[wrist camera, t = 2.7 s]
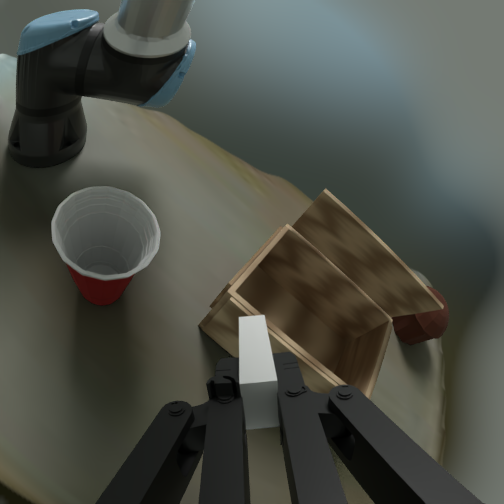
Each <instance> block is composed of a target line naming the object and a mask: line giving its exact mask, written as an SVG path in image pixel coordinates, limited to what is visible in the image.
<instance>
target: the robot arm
mask: <svg viewBox="0 0 504 504" xmlns="http://www.w3.org/2000/svg"><path fill="white" fill-rule="evenodd" d="M194 2H195V0H121V4H120V8H119V11H118V12H117V13H115V14H113V15H112V16H111V17H110V18H109V19H108V20H107V21H106V23H100V22H98V21H99V14H98V12H96V11H91V10H87V9H85V10H84V9H79V10H68V11H62V12H56V13H53V14H49V15H45V16H42V17H40V18H37V19H36V20H34V21H32V22H30V23H29V24H28V25H26V27H25V28H24V29H23V31H22V33H21V37H20V42H19V47H18V51H17V55H18V56H17V73H16V110H15V113H14V117H13V120H12V124H11V128H10V131H9V137H8V143H9V151H10V154H11V156H12V157H13V159H14V160H15V161H17V162H18V163H20V164H22V165H25V166H29V167H47V166H53V165H56V164H59V163H62V162H64V161H66V160H68V159H70V158H72V157H73V156H74V155H76V154H77V153H78V152H79V151H80V150H81V149H82V147H83V146H84V144H85V141H86V133H87V123H86V119H85V115H84V111H83V107H82V103H81V97H82V96H85V97H93V98H99V99H105V100H111V101H117V102H122V103H127V104H132V105H137V106H140V107H141V106H149V107H156V108H159V107H163V106H165V105H166V104H168V103H169V102H170V101H171V99H172V98H173V97H174V95H175V94H176V92H177V91H178V89H179V87H180V85H181V83H182V82H183V79H184V75H185V74H186V73H187V71H188V69H189V67H190V65H191V62H192V59H193V57H194V53H195V50H196V43H195V42H194V41H193V40H191V39H190V37H191V29H190V26H189V25H188V23H187V22H186V19H187V17H188V15H189V13H190V10H191V8H192V6H193V4H194ZM206 385H207V390H208V395H209V401H208V402H206V403H204V404H201V405H198V406H194V407H191V405H190V404H189V403H187V402H184V401H173V402H170V403H168V404H166V405H165V406H164V407H163V408H162V409H161V410H160V412H159V413H158V415H157V416H156V418H155V419H154V420H153V422H152V423H151V425H150V426H149V428H148V429H147V431H146V432H145V433H144V435H143V436H142V438H141V439H140V441H139V442H138V444H137V445H136V446H135V448H134V449H133V451H132V452H131V454H130V455H129V457H128V458H127V459H126V461H125V462H124V464H123V465H122V467H121V468H120V469H119V471H118V472H117V474H116V475H115V477H114V478H113V479H112V481H111V482H110V484H109V485H108V486H107V488H106V489H105V491H104V492H103V494H102V495H101V496H100V498H99V499H98V501H97V502H96V503H95V504H179V503H180V501H181V499H182V497H183V495H184V493H185V491H186V489H187V487H188V484H189V482H190V480H191V478H192V476H193V474H194V471H195V469H196V467H197V465H198V463H199V461H200V458H201V456H202V454H203V463H202V473H201V484H200V495H199V504H250V486H249V468H248V448H247V435H246V430H247V429H259V428H270V427H279V426H280V439H281V445H282V448H283V454H284V460H285V466H286V472H287V478H288V484H289V490H290V496H291V502H292V504H348V503H347V500H346V497H345V494H344V491H343V488H342V485H341V482H340V479H339V475H338V472H337V469H336V466H335V463H334V460H333V457H332V454H331V451H330V448H329V445H328V443H329V444H330V446H331V447H332V448H333V450H334V451H335V452H336V454H337V455H338V456H339V458H340V459H341V460H342V462H343V463H344V464H345V466H346V467H347V468H348V470H349V471H350V472H351V474H352V475H353V476H354V477H355V479H356V480H357V481H358V483H359V484H360V485H361V486H362V488H363V489H364V490H365V492H366V493H367V494H368V495H369V497H370V498H371V499H372V500H373V502H374V503H375V504H484V503H482V502H481V501H480V500H479V499H477V497H475V496H474V495H473V494H472V493H471V492H470V491H469V490H467V489H466V488H465V487H464V486H463V485H462V484H460V483H459V482H458V481H457V480H456V479H455V478H454V477H453V476H452V475H451V474H449V473H448V472H447V471H446V470H445V469H444V468H443V467H442V466H440V465H439V464H438V463H437V462H436V461H435V460H434V459H433V458H432V457H431V456H429V455H428V454H427V453H426V452H425V451H424V450H423V449H422V448H421V447H420V446H419V445H417V444H416V443H415V442H414V441H413V440H412V439H411V438H410V437H409V436H408V435H407V434H406V433H404V432H403V431H402V430H401V429H400V428H399V427H398V426H397V425H396V424H395V423H394V422H393V421H392V420H391V419H390V418H388V417H387V416H386V415H385V414H384V413H383V412H382V411H381V410H380V409H379V408H378V407H377V406H376V405H375V404H374V403H373V402H372V401H370V400H369V399H368V398H367V397H366V396H365V395H364V394H363V393H362V392H361V391H360V390H359V389H358V388H356V387H355V386H352V385H338V386H336V387H334V388H332V389H331V390H330V392H329V393H317V392H313V391H311V390H310V389H309V387H308V386H306V385H305V383H304V380H303V377H302V374H301V371H300V368H299V364H298V361H297V358H296V356H295V355H294V354H292V353H291V352H281V353H272V351H271V346H270V341H269V336H268V331H267V325H266V320H265V315H256V316H245V317H239V357H236V358H221V359H220V360H219V362H218V363H217V364H216V371H215V376H214V377H211V378H210V379H209V380H208V381H207V383H206ZM203 450H204V453H203Z"/></svg>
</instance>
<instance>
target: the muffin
mask: <svg viewBox="0 0 504 504" xmlns="http://www.w3.org/2000/svg"><path fill="white" fill-rule="evenodd" d="M426 287H427V288H428V289H429V290H430V291H431V292H432V293H433V294H434V295H435V297H436V298H437V299H438V300H439V301H440V302H441V303H442V304H443V306H444V307H443V309H440V310H434V311H429V312H422V313H416V314H410V315H403V316H396V317H392V318H391V319H392V323H393V326H394V331H395V333H396V334H397V335H398V336H399V338H400V339H401V341H402V342H404V343H407V344H409V345H413V344H416V343H420V342H423V341H427V340H430V339H433V338H439V337H441V336H442V335H443V333H444V332H445V330H446V328H447V325H448V321H449V310H448V306H447V303H446V301H445V299H444V298H443V296H442V295H441V294H440V293H439V292H437V291H436V290H435V289H433V288H431V287H429V286H426Z"/></svg>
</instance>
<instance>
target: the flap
mask: <svg viewBox="0 0 504 504" xmlns="http://www.w3.org/2000/svg"><path fill="white" fill-rule="evenodd" d="M292 227H293V228H294V229H295V230H296V231H297V232H298V233H300V234H301V235H302V236H303V237H304V238H305V239H306V240H307V241H309V242H310V243H311V244H312V245H313V246H314V247H315V248H317V249H318V250H319V251H320V252H321V253H322V254H323V255H324V256H325V257H327V258H328V259H329V260H330V261H331V262H332V263H333V264H334V265H335V266H337V267H338V268H339V269H340V270H341V271H342V272H343V273H344V274H345V275H346V276H347V277H349V278H350V279H351V280H352V281H353V282H354V283H355V284H356V285H357V286H358V287H359V288H360V289H361V290H363V291H364V292H365V293H366V294H367V295H368V296H369V297H370V298H371V299H372V300H373V301H374V302H375V303H376V304H377V305H378V306H380V307H381V308H382V309H383V310H384V311H385V312H386V313H387V314H388V315H389V316H390V317H396V316H403V315H410V314H416V313H422V312H429V311H434V310H440V309H443V307H444V306H443V304H442V303H441V302H440V301H439V300H438V299H437V298H436V297H435V295H434V294H433V293H432V292H431V291H430V290H429V289H428V288H427V287H426V286H425V284H424V283H423V282H422V281H421V280H420V279H419V278H418V277H417V276H416V275H415V274H414V273H413V272H412V271H411V270H410V268H409V267H408V266H407V265H406V264H404V262H403V261H402V260H401V259H400V258H399V257H398V256H397V255H396V254H395V253H394V252H393V251H392V250H391V249H390V248H389V247H388V246H387V245H386V244H385V243H384V242H383V241H382V240H381V239H380V238H379V237H378V236H377V235H376V234H375V233H374V232H372V231H371V230H370V229H369V228H368V227H367V226H366V225H365V224H364V223H363V222H362V221H361V220H360V219H359V218H358V217H357V216H356V215H354V214H353V213H352V212H351V211H350V210H349V209H348V208H347V207H346V206H345V205H343V204H342V203H341V202H340V201H339V200H338V199H337V198H336V197H335V196H333V195H332V194H331V193H330V192H329V191H328V190H326V189H325V190H324V191H323V192H322V193H321V194H320V195H319V197H318V198H317V199H316V200H315V201H314V202H313V203H312V204H311V206H310V207H309V208H308V209H307V210H306V211H305V212H304V213H303V215H302V216H301V217H300V218H299V219H298V220H297V221H296V222H295V224H294V225H293V226H292Z"/></svg>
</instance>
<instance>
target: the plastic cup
mask: <svg viewBox="0 0 504 504" xmlns="http://www.w3.org/2000/svg"><path fill="white" fill-rule="evenodd" d="M51 226H52V242H53V244H54V245H55V247H56V249H57V251H58V252H59V254H60V256H61V258H62V259H63V261H64V262H65V263H66V264H67V267H68V269H69V271H70V273H71V275H72V278H73V280H74V282H75V283H76V285H77V286H78V288H79V290H80V292H81V293H82V295H83V296H84V298H85V299H87V300H88V301H90V302H91V303H93V304H96V305H101V306H103V305H108V304H111V303H113V302H114V301H116V300H117V299H119V297H120V296H121V294H122V293H123V291H124V290H125V288H126V287H127V285H128V284H129V282H130V281H131V279H132V277H133V276H134V275H135V273H137V272H139V271H140V270H142V269H144V268H146V267H147V266H148V265H149V263H150V262H151V260H152V259H153V257H154V256H155V254H156V253H157V252H158V250H159V242H160V235H161V232H160V229H159V225H158V222H157V219H156V216H155V215H154V213H153V212H152V211H151V210H150V209H149V207H148V206H147V205H146V204H145V202H144V201H142V200H141V199H139V198H137V197H136V196H134V195H133V194H131V193H130V192H128V191H125V190H121V189H118V188H114V187H110V186H95V187H87V188H85V189H82V190H79V191H77V192H74V193H72V194H71V195H70V196H68V197H67V198H66V199H65V200H64V201H63V202H62V203H61V204H59V205H58V208H57V210H56V212H55V215H54V217H53V219H52V222H51Z"/></svg>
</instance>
